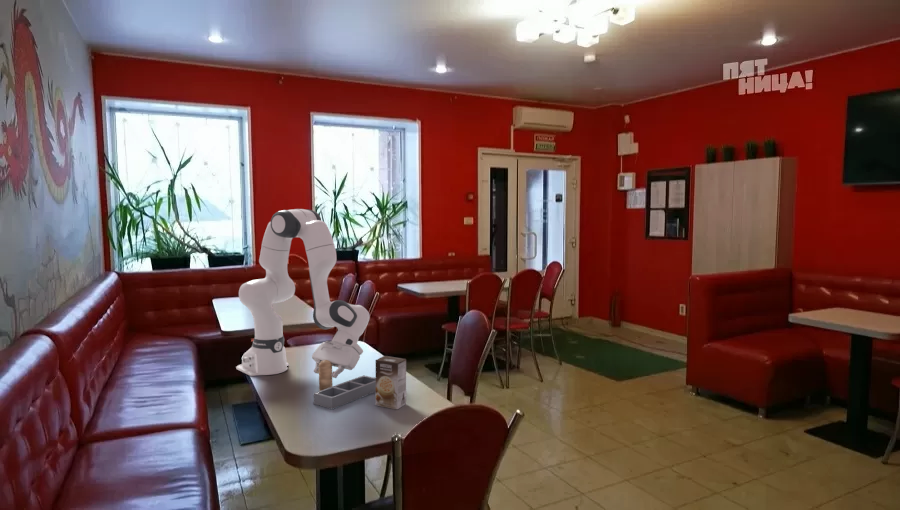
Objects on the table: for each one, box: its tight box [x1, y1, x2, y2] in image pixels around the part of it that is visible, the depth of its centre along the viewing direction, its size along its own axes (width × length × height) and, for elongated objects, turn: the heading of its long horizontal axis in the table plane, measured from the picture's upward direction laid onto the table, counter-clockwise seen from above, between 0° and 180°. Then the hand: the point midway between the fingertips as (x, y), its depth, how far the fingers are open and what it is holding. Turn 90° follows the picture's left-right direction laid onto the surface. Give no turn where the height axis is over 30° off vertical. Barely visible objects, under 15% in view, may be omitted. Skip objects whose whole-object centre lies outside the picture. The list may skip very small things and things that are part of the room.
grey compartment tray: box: [313, 375, 376, 410], centre depth 193 cm, size 9×25×4 cm, turn 146°
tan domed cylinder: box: [318, 360, 333, 391], centre depth 199 cm, size 5×5×11 cm
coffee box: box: [375, 355, 407, 410], centre depth 184 cm, size 9×6×16 cm
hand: (324, 374), depth 199 cm, fingers open, 8 cm apart
